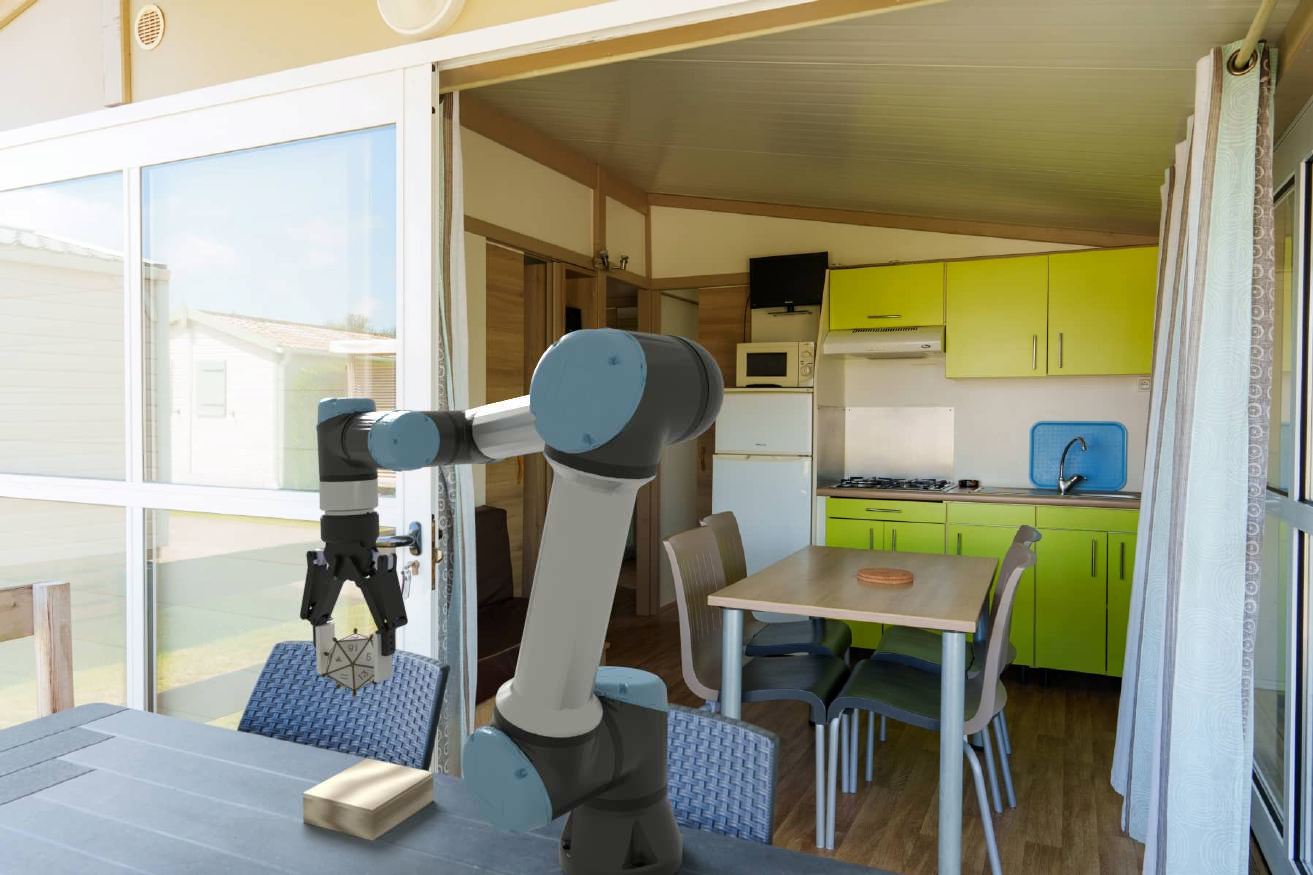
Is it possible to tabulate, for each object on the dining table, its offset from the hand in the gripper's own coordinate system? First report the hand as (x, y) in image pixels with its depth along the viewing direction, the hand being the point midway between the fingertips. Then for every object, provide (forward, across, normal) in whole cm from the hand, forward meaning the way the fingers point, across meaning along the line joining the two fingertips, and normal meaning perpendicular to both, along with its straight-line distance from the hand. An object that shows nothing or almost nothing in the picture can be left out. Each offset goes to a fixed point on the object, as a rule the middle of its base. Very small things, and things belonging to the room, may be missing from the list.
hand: (354, 674), depth 116 cm
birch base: (+19, -1, -1) cm, 19 cm away
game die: (+2, 0, 0) cm, 2 cm away
